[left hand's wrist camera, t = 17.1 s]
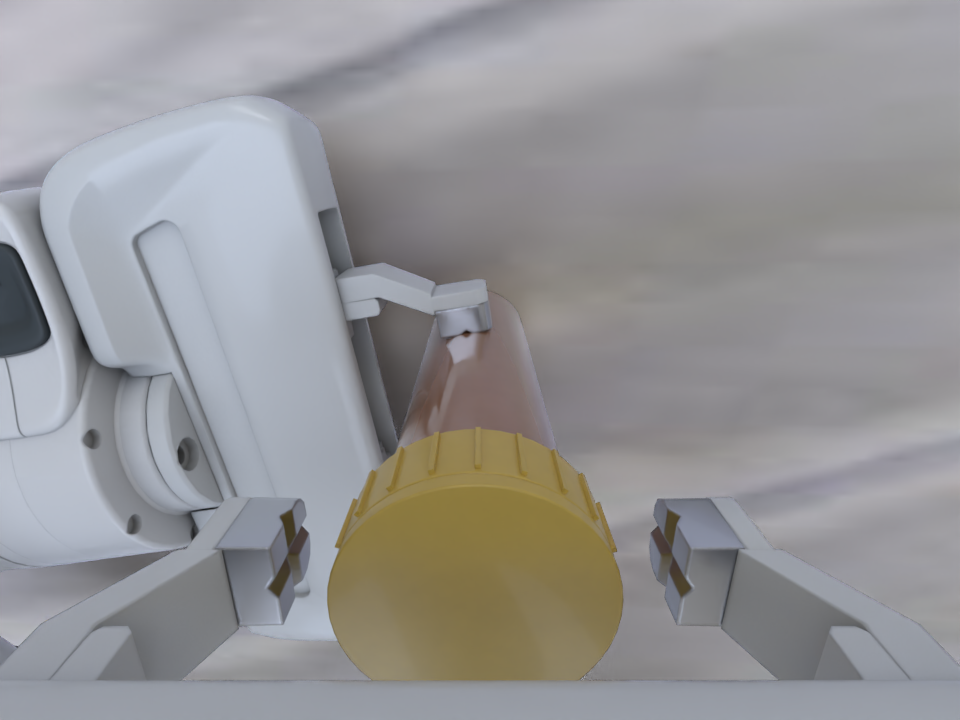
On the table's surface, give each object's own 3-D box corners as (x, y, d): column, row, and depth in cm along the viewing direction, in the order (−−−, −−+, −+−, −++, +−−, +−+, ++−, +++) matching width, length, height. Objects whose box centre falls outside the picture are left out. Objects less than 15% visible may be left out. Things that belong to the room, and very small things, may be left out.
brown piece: (468, 392, 25) (453, 689, 11) (414, 324, 24) (314, 557, 9) (540, 343, 24) (630, 597, 10) (488, 270, 23) (503, 438, 9)
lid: (654, 545, 11) (688, 620, 9) (467, 667, 12) (465, 754, 10) (487, 371, 9) (489, 418, 8) (295, 530, 11) (258, 601, 9)
